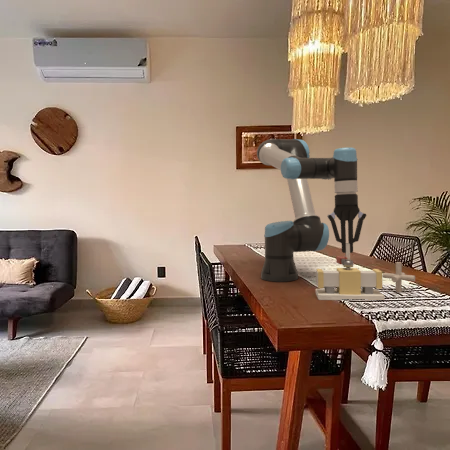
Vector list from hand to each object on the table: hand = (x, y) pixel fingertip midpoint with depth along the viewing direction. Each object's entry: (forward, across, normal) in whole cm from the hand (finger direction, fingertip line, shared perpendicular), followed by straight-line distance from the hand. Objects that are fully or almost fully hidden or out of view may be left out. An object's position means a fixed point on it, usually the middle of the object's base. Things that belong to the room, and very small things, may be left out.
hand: (347, 262), depth 130 cm
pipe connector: (+11, -16, 0) cm, 20 cm away
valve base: (+10, +1, +8) cm, 13 cm away
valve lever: (0, +2, +4) cm, 4 cm away
